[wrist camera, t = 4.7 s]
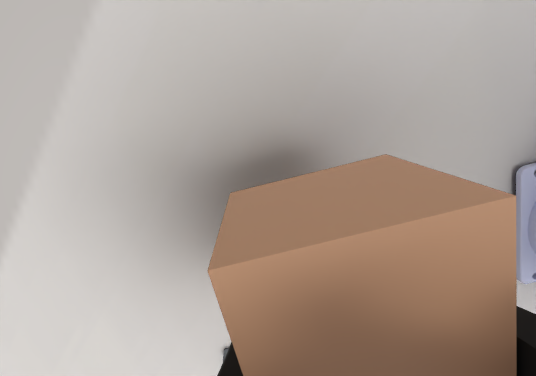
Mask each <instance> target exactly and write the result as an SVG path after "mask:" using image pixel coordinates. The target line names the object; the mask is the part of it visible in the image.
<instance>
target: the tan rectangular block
mask: <svg viewBox="0 0 536 376" xmlns="http://www.w3.org/2000/svg"><path fill="white" fill-rule="evenodd" d="M208 273H209V276H210V279H211V282H212V285H213V288H214V291H215V294H216V297H217V300H218V303H219V306H220V309H221V312H222V315H223V318H224V320H225V323H226V326H227V329H228V332H229V335H230V338H231V341H232V344H233V347H234V350H235V353H236V356H237V359H238V362H239V365H240V367H241V370H242V373H243V376H517V354H516V196H515V195H512V194H509V193H506V192H503V191H500V190H496V189H493V188H490V187H487V186H484V185H481V184H478V183H474V182H471V181H468V180H465V179H462V178H459V177H456V176H452V175H449V174H446V173H443V172H440V171H437V170H434V169H430V168H427V167H424V166H421V165H418V164H415V163H412V162H408V161H405V160H402V159H399V158H396V157H393V156H390V155H386V154H385V155H381V156H377V157H373V158H369V159H365V160H361V161H357V162H353V163H349V164H345V165H341V166H337V167H333V168H329V169H325V170H321V171H317V172H312V173H308V174H304V175H300V176H296V177H292V178H288V179H284V180H280V181H276V182H272V183H268V184H264V185H260V186H256V187H252V188H248V189H244V190H240V191H236V192H231V193H230V196H229V199H228V203H227V206H226V209H225V213H224V216H223V220H222V223H221V227H220V230H219V233H218V237H217V240H216V244H215V247H214V250H213V254H212V257H211V261H210V264H209V268H208Z"/></svg>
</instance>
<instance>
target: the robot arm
mask: <svg viewBox="0 0 536 376" xmlns="http://www.w3.org/2000/svg"><path fill="white" fill-rule="evenodd" d="M535 170H536V163H533V164H529V165H524V166H522V167H521V168H519V169H518V171H517V173H516V278H517V279H518V280H519V281H520V282H522V283H524V284H529V283H533V282H536V173H535V174H534V172H535ZM516 354H517V376H536V314H534V313H531V312H529V311H527V310H525V309H522V308H520V307H518V306H516ZM217 376H243V373H242V370H241V367H240V365H239V362H238V359H237V356H236V353H235V350H234V347H233V344H232V342H231V344H230V347H229V350H228V352H227V354H226V357H225V359H224V362H223V364H222V366H221V369H220V371H219V373H218V375H217Z"/></svg>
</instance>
